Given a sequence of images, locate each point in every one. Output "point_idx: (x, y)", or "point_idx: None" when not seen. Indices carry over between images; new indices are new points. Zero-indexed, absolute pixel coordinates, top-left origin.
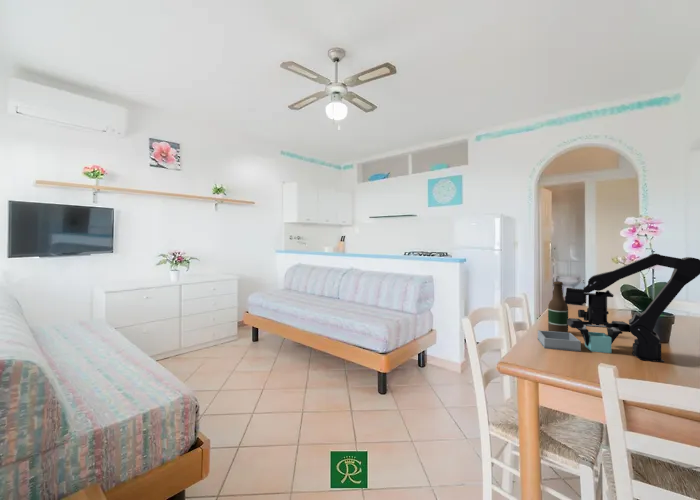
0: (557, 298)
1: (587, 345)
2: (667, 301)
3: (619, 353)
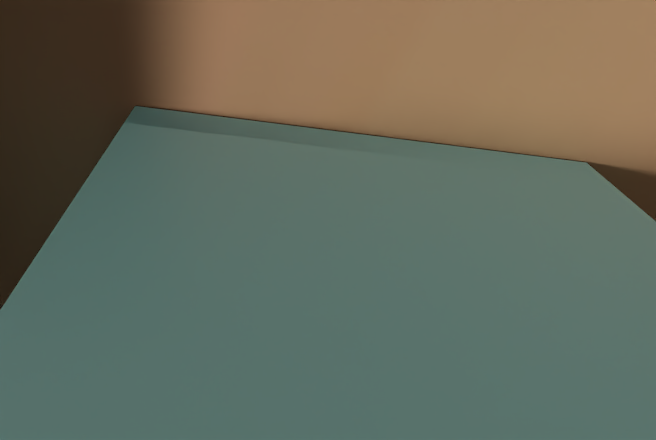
0: None
1: None
2: None
3: None
